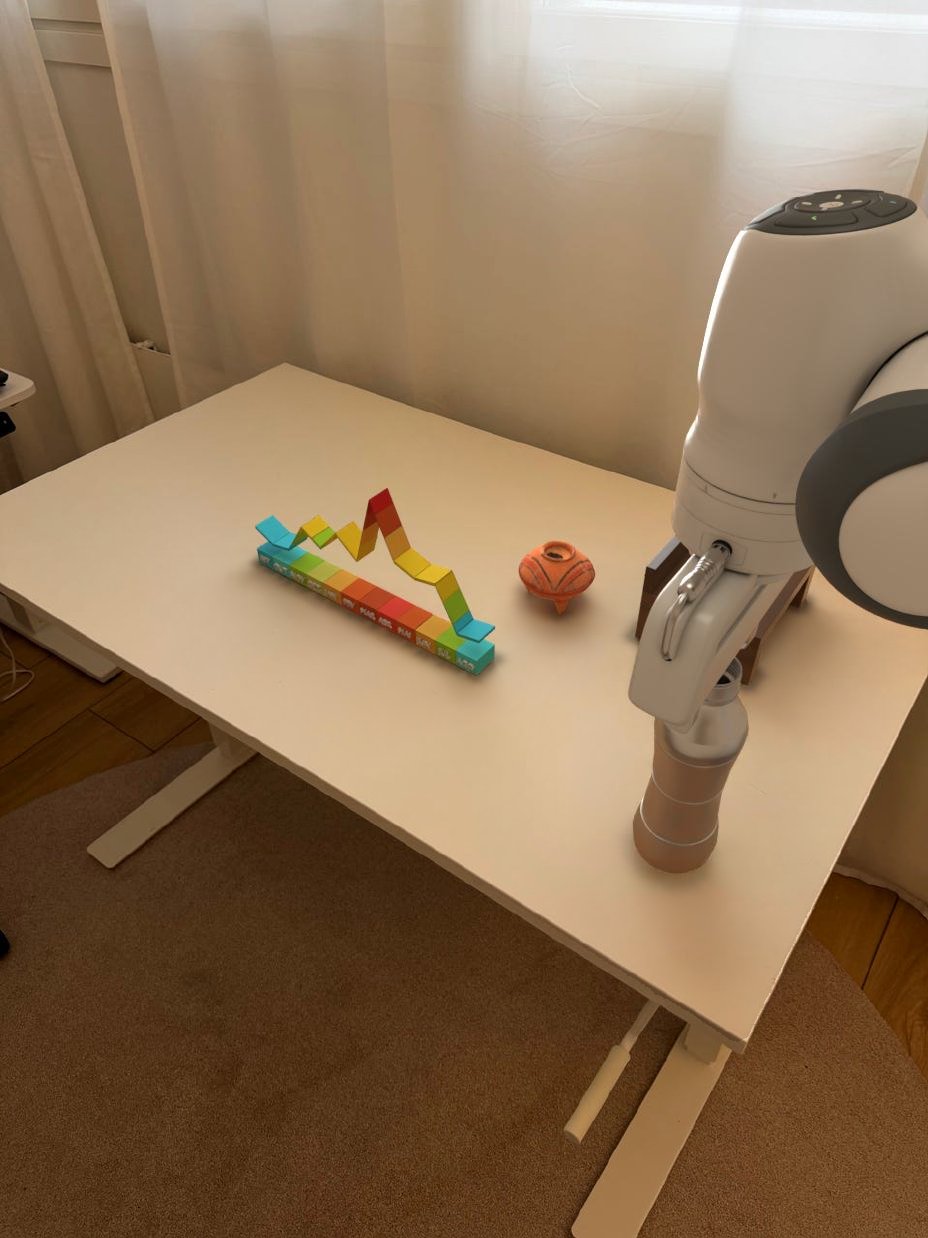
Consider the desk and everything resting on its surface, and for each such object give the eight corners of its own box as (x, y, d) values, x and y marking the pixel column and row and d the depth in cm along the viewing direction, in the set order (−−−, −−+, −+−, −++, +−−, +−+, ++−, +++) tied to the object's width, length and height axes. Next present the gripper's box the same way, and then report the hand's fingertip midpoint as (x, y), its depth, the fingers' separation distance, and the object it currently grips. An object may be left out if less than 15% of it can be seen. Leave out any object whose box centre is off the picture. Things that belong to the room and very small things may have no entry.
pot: (508, 613, 93) (511, 553, 89) (526, 584, 99) (530, 527, 96) (584, 626, 91) (590, 565, 87) (597, 595, 97) (603, 537, 94)
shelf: (806, 598, 95) (828, 528, 89) (747, 685, 85) (768, 613, 79) (700, 559, 100) (715, 490, 94) (634, 637, 90) (645, 566, 84)
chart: (257, 563, 100) (234, 444, 90) (278, 549, 102) (258, 431, 92) (475, 677, 86) (475, 551, 76) (494, 659, 88) (497, 533, 78)
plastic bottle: (614, 858, 70) (646, 677, 57) (652, 801, 75) (689, 620, 62) (690, 900, 68) (742, 718, 55) (725, 838, 72) (781, 656, 59)
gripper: (735, 626, 42) (686, 807, 51) (866, 446, 55) (808, 616, 64) (616, 577, 45) (590, 757, 54) (767, 417, 57) (725, 584, 66)
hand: (709, 679), depth 59 cm, fingers open, 8 cm apart
